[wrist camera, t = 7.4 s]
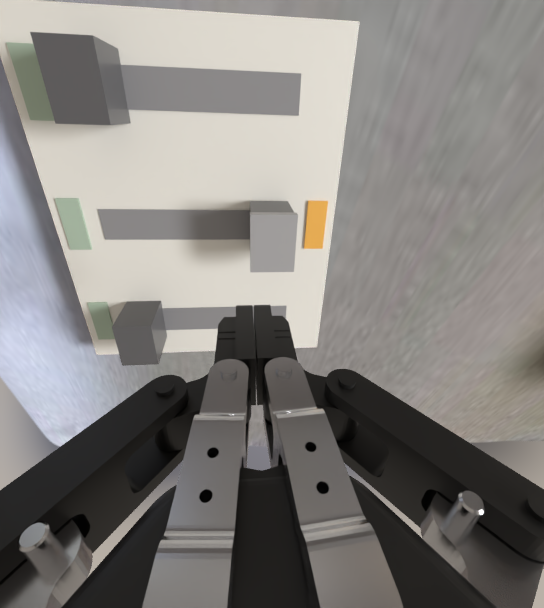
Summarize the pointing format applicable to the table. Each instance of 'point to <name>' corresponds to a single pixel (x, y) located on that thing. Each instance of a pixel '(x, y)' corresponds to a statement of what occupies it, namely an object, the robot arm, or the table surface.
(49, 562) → the robot arm
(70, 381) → the table surface
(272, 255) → the block
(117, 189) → the breaker panel
